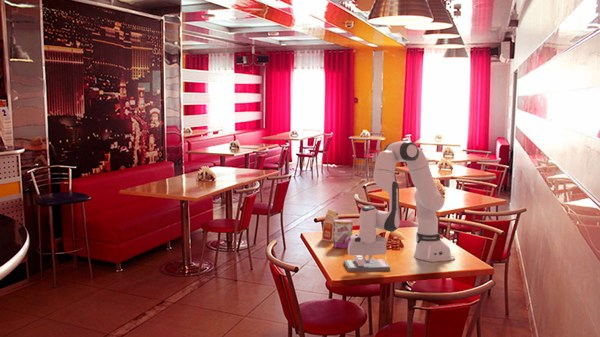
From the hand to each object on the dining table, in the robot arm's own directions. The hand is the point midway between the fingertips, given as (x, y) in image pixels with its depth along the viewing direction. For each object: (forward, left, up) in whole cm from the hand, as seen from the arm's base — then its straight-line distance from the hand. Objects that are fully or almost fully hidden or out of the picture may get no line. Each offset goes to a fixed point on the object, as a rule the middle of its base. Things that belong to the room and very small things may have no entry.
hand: (366, 262), depth 278 cm
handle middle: (+3, -5, -1) cm, 6 cm away
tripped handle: (+3, 0, -1) cm, 3 cm away
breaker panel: (-1, -5, -4) cm, 6 cm away
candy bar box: (+5, -44, -4) cm, 44 cm away
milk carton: (+9, -63, -4) cm, 63 cm away
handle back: (+3, -9, -1) cm, 10 cm away
